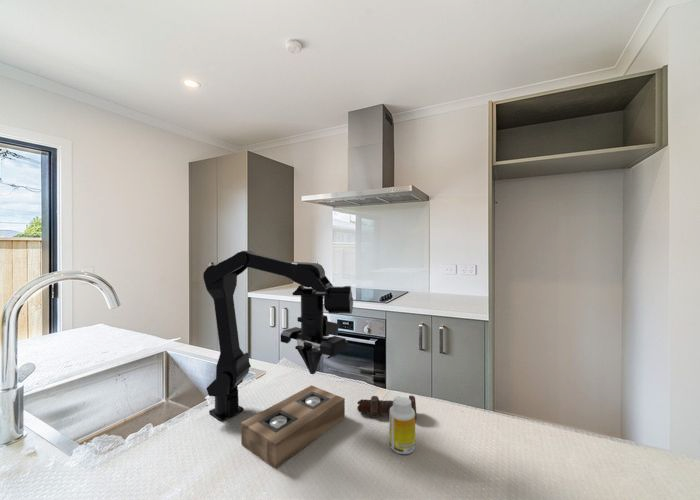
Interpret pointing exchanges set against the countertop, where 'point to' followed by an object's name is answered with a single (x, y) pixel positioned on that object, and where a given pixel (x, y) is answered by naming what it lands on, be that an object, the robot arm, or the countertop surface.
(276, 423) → the peg tall
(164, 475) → the countertop surface
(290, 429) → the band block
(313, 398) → the peg short
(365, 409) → the bolt
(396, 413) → the supplement bottle
